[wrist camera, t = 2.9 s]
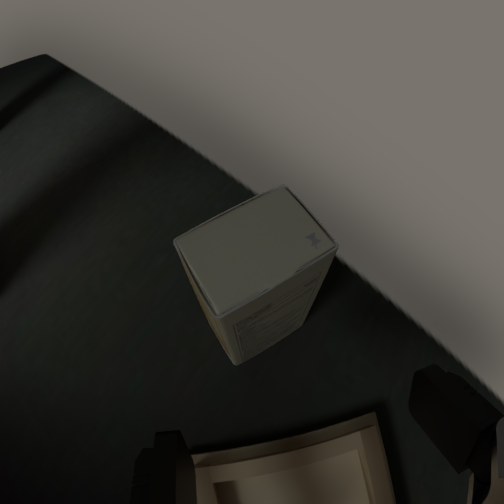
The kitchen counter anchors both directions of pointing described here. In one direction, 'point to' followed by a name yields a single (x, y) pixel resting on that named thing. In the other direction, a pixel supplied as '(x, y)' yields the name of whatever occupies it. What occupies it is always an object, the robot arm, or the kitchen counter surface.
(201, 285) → the skincare box
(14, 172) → the kitchen counter surface
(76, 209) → the kitchen counter surface
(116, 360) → the kitchen counter surface
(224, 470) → the tray
